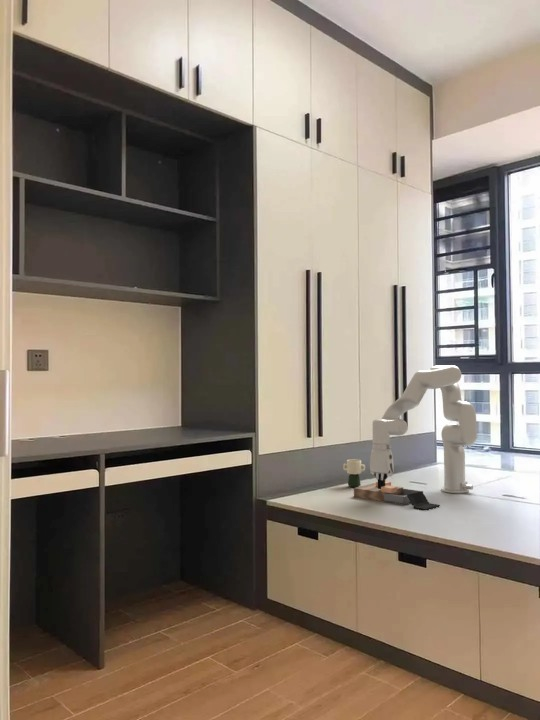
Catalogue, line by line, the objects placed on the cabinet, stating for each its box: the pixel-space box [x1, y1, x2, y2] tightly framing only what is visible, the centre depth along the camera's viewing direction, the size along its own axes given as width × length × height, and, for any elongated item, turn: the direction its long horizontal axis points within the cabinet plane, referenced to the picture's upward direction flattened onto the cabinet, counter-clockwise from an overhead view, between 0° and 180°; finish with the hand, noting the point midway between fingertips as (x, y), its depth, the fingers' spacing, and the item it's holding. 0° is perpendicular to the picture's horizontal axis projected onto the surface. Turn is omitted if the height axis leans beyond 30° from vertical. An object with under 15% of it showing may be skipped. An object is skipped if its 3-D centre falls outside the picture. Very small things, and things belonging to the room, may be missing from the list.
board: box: [353, 482, 404, 502], centre depth 281 cm, size 16×16×4 cm
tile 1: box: [381, 485, 398, 493], centre depth 273 cm, size 5×5×2 cm
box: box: [383, 487, 424, 506], centre depth 272 cm, size 10×16×4 cm, turn 137°
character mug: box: [342, 458, 366, 488], centre depth 305 cm, size 11×7×13 cm, turn 71°
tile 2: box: [375, 480, 392, 487], centre depth 284 cm, size 5×5×2 cm
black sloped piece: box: [407, 490, 441, 511], centre depth 259 cm, size 12×7×10 cm
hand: (381, 488), depth 276 cm, fingers closed
